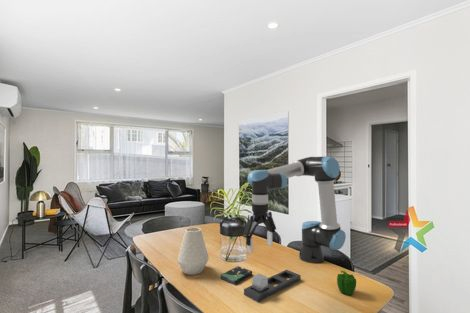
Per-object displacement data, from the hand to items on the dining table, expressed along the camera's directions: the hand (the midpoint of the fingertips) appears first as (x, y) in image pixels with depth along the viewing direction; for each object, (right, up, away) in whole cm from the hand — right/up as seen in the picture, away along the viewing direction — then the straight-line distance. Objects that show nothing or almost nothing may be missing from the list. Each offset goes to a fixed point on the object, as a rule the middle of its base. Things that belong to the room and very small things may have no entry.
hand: (260, 248), depth 121 cm
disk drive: (-11, -22, +17) cm, 30 cm away
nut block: (0, -21, 0) cm, 21 cm away
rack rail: (+7, -21, +6) cm, 23 cm away
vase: (-35, -21, +25) cm, 48 cm away
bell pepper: (+41, -21, +1) cm, 46 cm away
